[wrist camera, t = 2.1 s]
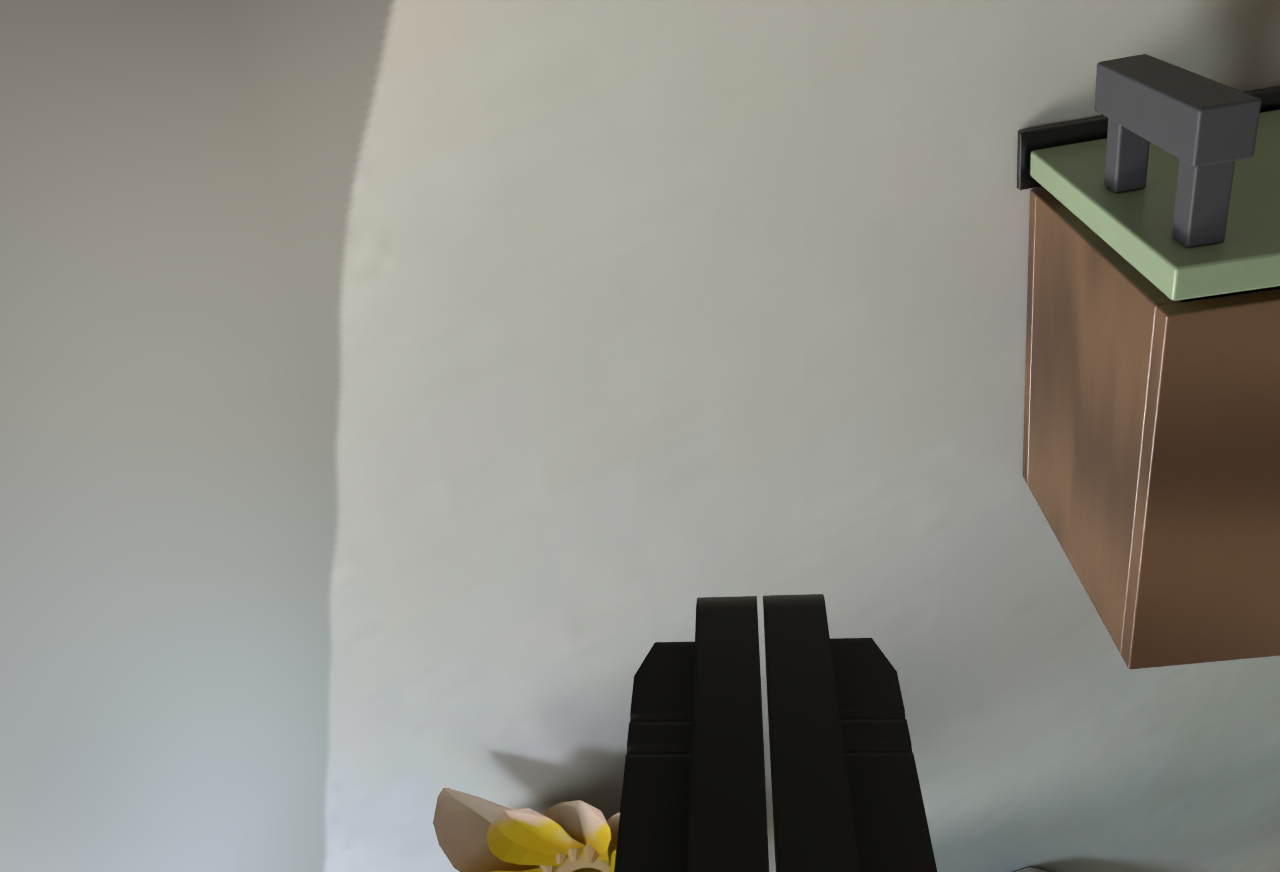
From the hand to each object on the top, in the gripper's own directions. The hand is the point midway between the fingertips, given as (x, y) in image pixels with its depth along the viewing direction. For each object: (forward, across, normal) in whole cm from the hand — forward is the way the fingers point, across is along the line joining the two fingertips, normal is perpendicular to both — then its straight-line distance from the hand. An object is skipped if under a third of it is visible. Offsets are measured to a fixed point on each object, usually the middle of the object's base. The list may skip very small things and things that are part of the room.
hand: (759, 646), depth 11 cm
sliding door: (+21, -12, -1) cm, 25 cm away
